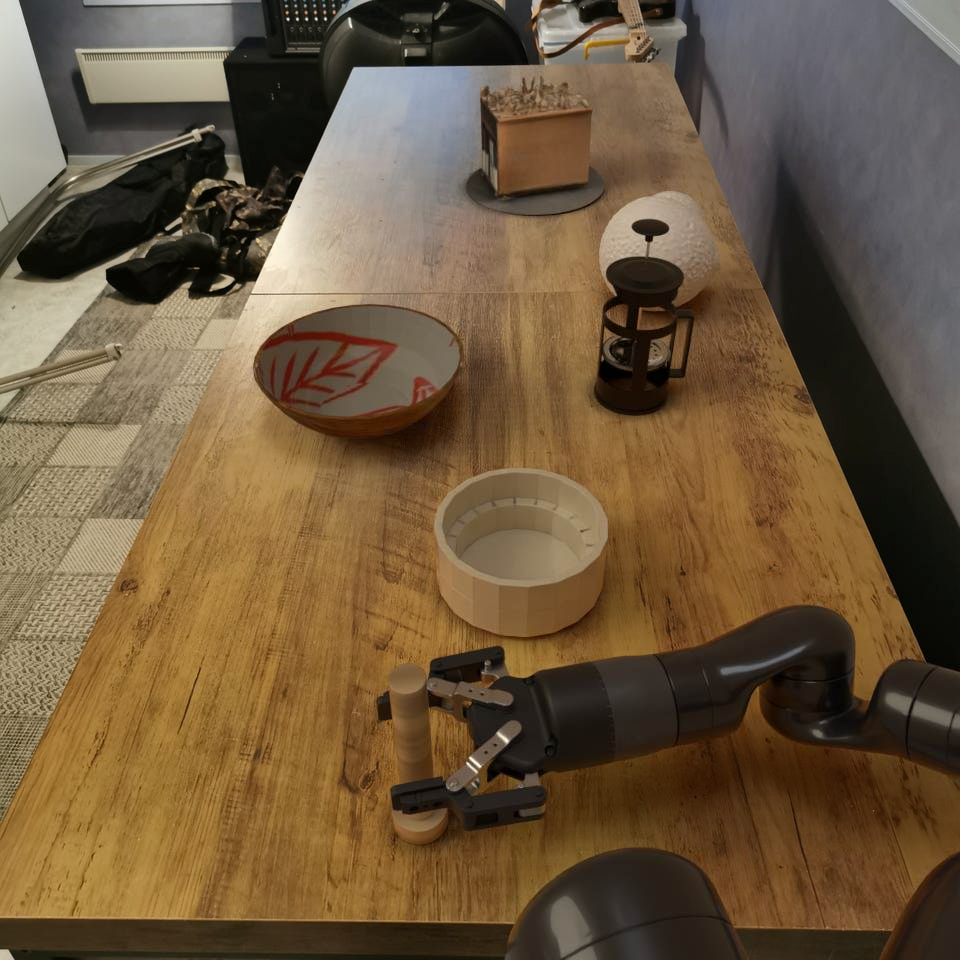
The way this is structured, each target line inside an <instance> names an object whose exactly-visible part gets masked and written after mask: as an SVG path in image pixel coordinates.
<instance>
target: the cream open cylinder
mask: <svg viewBox="0 0 960 960" xmlns="http://www.w3.org/2000/svg"><path fill="white" fill-rule="evenodd" d="M607 516H608V515H607V514H606V512H605V510H604V508H603V506H602V504H601V501H600V500H599V499H598V498H596V496H595V495H593V493H592V492H590V490H588V489H587V488H586V487H585V486H584V485H582V484H581V483H579V482H576V481H575V480H573V479H571V478H570V477H567V476H566V475H563V474H560V473H556V472H552V471H550V470H549V471H548V470H545V469H542V468H532V467H531V468H529V467H506V468H500V469H493V470H492V469H491V470H487V471H485V472H483V473H480V474H477V475H475V476H472V477H470V478H467V479H466V480H464V481H463V482H461V483H460V484H458V485H457V486H456V487H454V488H453V489H452V490H450V491H449V492H448V493H447V494H446V496H445V497H444V499H443V500H442V502H440V504H439V506H438V507H437V509H436V514H435V517H434V523H433V539H434V540H433V541H434V559H435V575H436V581H437V584H438V589H439V593H440V596H441V597H442V599H443V600H444V601H445V603H446V604H447V605H448V606H449V608H450V610H451V611H452V612H453V613H454V614H455V615H457V616H458V617H459V618H461V619H463V620H464V621H465V622H467V623H468V624H470V625H471V626H473V627H475V628H478V629H481V630H484V631H487V632H488V633H489V632H490V633H493V634H496V635H499V636H507V637H518V638H519V637H520V638H529V637H536V636H542V635H543V636H544V635H548V634H554V633H556V632H558V631H560V630H563V629H564V628H567V627H569V626H572V625H573V624H576V623H577V622H579V621H580V620H581V619H582V618H583V617H584V616H586V614H588V612H589V611H591V610H592V609H593V608H594V607H595V605H596V603H597V600H598V598H599V597H600V594H601V592H602V590H603V586H604V579H605V577H604V576H605V569H606V568H605V567H606V559H607V550H608V543H609V519H608V517H607Z"/></svg>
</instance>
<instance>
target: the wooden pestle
mask: <svg viewBox="0 0 960 960" xmlns="http://www.w3.org/2000/svg"><path fill="white" fill-rule="evenodd" d="M427 676H428V675H427V672H426V671H425V669H424V668H423V667H421V665H419V664H417V663H414V662H404V663H400V664H398V665H396V666H395V667H393V668H392V670H390V672H389V674H388V676H387V686H388V690H389V695H390V703H391V711H392V727H393V735H394V736H393V737H394V743H395V744H394V745H395V753H396V761H397V762H396V763H397V768H398V770H397V771H398V779H399V784H403V783H409V782H414V781H419V780H424V779H429V778H435V769H434V758H433V756H434V755H433V744H432V731H431V730H432V729H431V716H430V708H429V702H428V689H427V679H428V677H427ZM390 808H391V817H392V824H393V828H394V831H395V832H396V834H397V835H398V837H399V838H400V839H402V840H403V841H405V842H407V843H409V844H412V845H417V846H419V845H420V846H421V845H427V844H430V843H433V842H435V841H436V840H438V839H439V838H440V837H441V836H442V835H443V834H444V833H445V831H446V829H447V827H448V824H449V809H448V808H443V809H438V810H433V811H428V812H423V813H417V814H412V815H407V814H402V810H401V811H395V810H393V807H392V805H391V807H390Z"/></svg>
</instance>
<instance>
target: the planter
mask: <svg viewBox="0 0 960 960" xmlns="http://www.w3.org/2000/svg"><path fill="white" fill-rule="evenodd" d="M543 76H544V75H541V74H540V75H539V81H540V82H539V84H536V85H535V83H536V76H535V75H534V76H533V77H532V80H531V81H530V88H529V89H528V87H527V82H526V79H525V76H524V77H522V79H521V80H522V85H521V84H520V85H519V88H518V90H515V89H514V88H513V86H512V85H508V86H507V89H506V88H505V87H504V86H503V85H502V84H501V85H500V87H499V89H498V92H497V90H495V91H494V92H492V93H491V90H490V86H489V85H488V84H487V85H484V86H482V87H481V88H480V91H479V95H480V97H479V103H480V108H479V109H480V131H481V132H480V136H481V152H480V153H481V156H480V157H481V167H480V168H479V169H477V170H476V171H474V172H473V173H472V174H471V175H470V176H469V177H468V179H467V181H466V183H465V190H466V193H467V194H468V196H469V197H470V198H471V199H472V200H473V201H475V202H476V203H477V204H479V205H481V206H483V207H484V208H488V209H490V210H493V211H497V212H500V213H506V214H514V215H525V216H526V215H527V216H541V215H553V214H560V213H566V212H571V211H574V210H578V209H581V208H583V207H586V206H587V205H589V204H591V203H592V202H594V201H596V200H597V199H599V197H600V196H601V195H602V193H603V192H604V189H605V180H604V178H603V176H602V175H601V174H600V173H599V171H597V170H596V169H595V168H593V167H592V166H590V159H591V158H590V157H591V135H592V134H591V133H592V132H591V131H592V117H593V111H594V108H593V107H592V106H591V105H590V103H588V100H587V99H586V98H585V97H584V96H583V95H582V94H581V92H579V91H577V89H576V87H574V86H573V85H572V84H569V83H568V82H567V81H563V82H561V83H560V84H554V85H553V83H549V85H548V84H547V83H545V78H544V77H543ZM544 83H545V84H544ZM534 85H535V86H534Z"/></svg>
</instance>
